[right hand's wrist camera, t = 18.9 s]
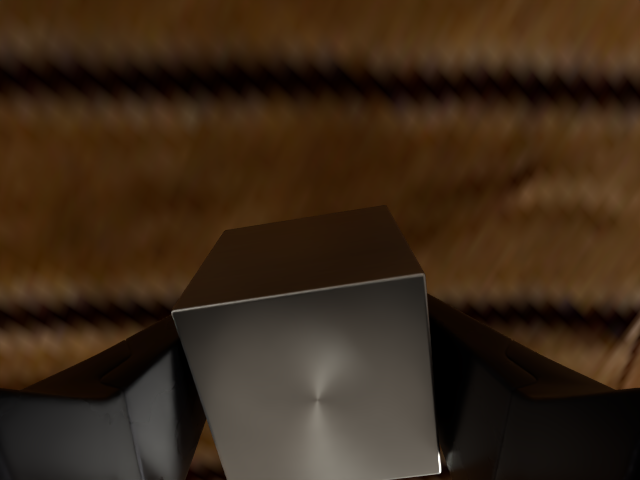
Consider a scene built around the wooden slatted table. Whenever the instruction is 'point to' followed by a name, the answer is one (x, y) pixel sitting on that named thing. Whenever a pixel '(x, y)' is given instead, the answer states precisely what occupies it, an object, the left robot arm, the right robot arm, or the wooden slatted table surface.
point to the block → (314, 350)
